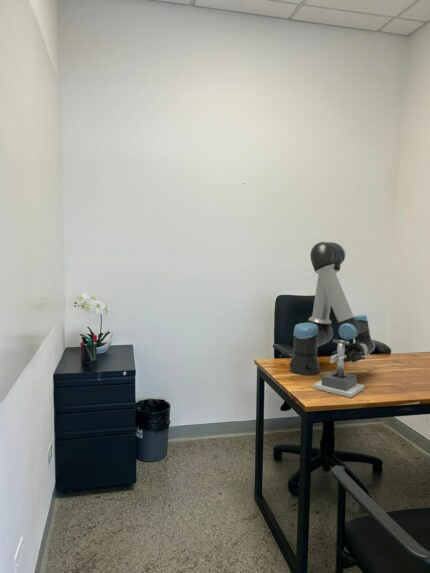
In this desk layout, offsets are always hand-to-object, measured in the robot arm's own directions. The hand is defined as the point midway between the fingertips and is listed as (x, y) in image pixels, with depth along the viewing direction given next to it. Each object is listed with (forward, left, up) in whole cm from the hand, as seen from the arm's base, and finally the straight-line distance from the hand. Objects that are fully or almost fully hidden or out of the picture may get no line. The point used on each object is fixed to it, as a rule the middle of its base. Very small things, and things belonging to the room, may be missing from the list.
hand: (335, 360), depth 170 cm
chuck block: (0, +6, -13) cm, 15 cm away
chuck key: (0, +5, -8) cm, 10 cm away
